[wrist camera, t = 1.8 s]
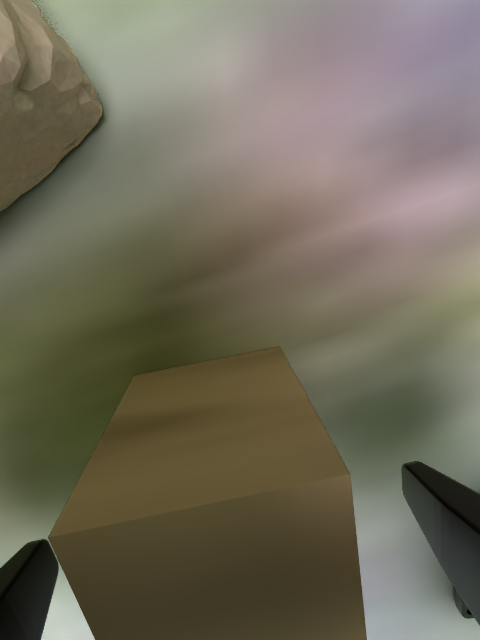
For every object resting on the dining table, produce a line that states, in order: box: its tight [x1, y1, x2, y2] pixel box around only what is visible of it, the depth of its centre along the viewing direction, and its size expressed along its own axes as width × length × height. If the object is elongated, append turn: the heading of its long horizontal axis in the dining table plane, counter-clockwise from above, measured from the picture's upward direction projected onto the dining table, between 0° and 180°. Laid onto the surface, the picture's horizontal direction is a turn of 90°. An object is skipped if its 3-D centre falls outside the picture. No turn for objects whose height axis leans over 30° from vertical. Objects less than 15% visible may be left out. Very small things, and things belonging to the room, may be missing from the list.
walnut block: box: [48, 346, 367, 640], centre depth 9 cm, size 5×5×6 cm
